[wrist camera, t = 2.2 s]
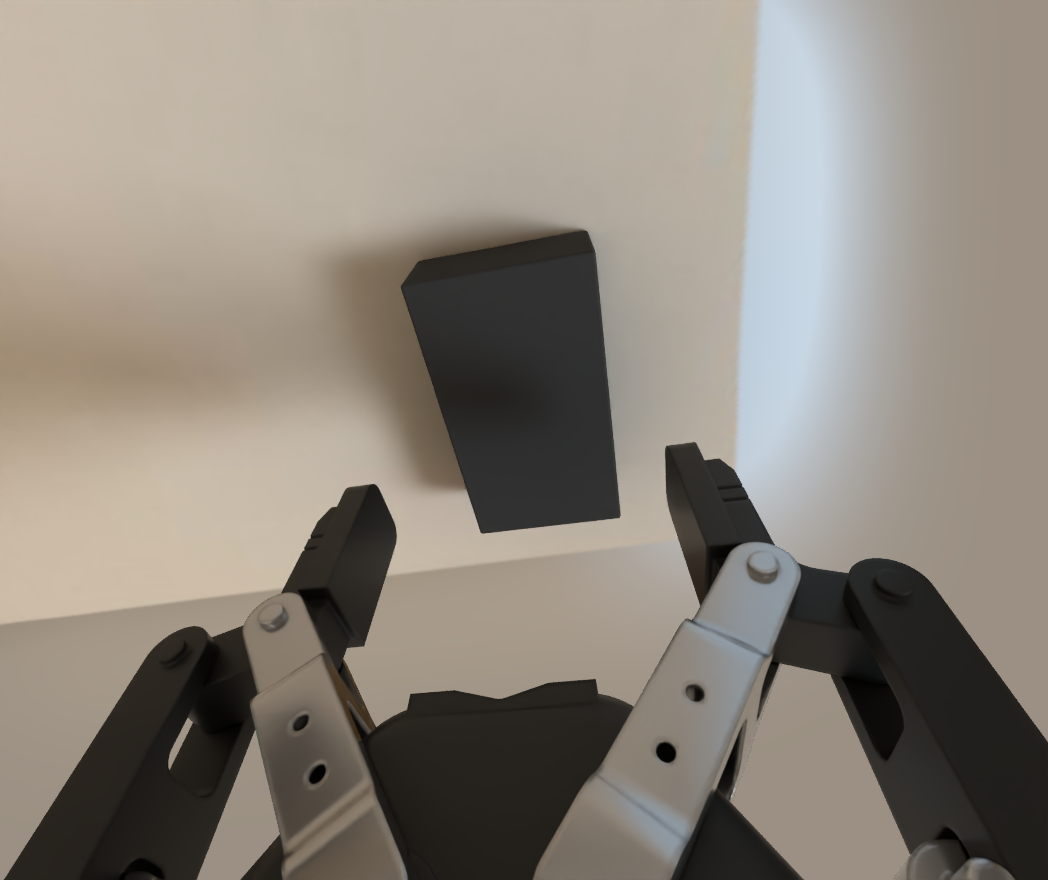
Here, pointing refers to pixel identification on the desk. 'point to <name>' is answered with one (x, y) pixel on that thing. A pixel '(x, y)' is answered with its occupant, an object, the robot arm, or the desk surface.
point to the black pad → (521, 378)
